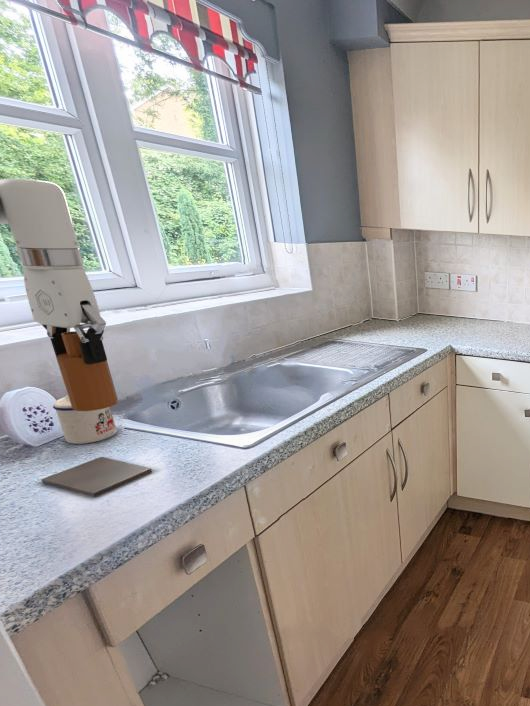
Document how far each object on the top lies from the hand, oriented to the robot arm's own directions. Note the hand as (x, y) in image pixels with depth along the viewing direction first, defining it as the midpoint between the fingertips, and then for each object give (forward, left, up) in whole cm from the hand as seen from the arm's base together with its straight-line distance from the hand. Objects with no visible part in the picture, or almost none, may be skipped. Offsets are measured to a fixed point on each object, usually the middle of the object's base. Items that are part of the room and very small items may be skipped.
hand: (82, 359), depth 83 cm
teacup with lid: (-22, +10, -23) cm, 34 cm away
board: (0, -3, -23) cm, 23 cm away
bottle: (0, 0, -9) cm, 9 cm away
